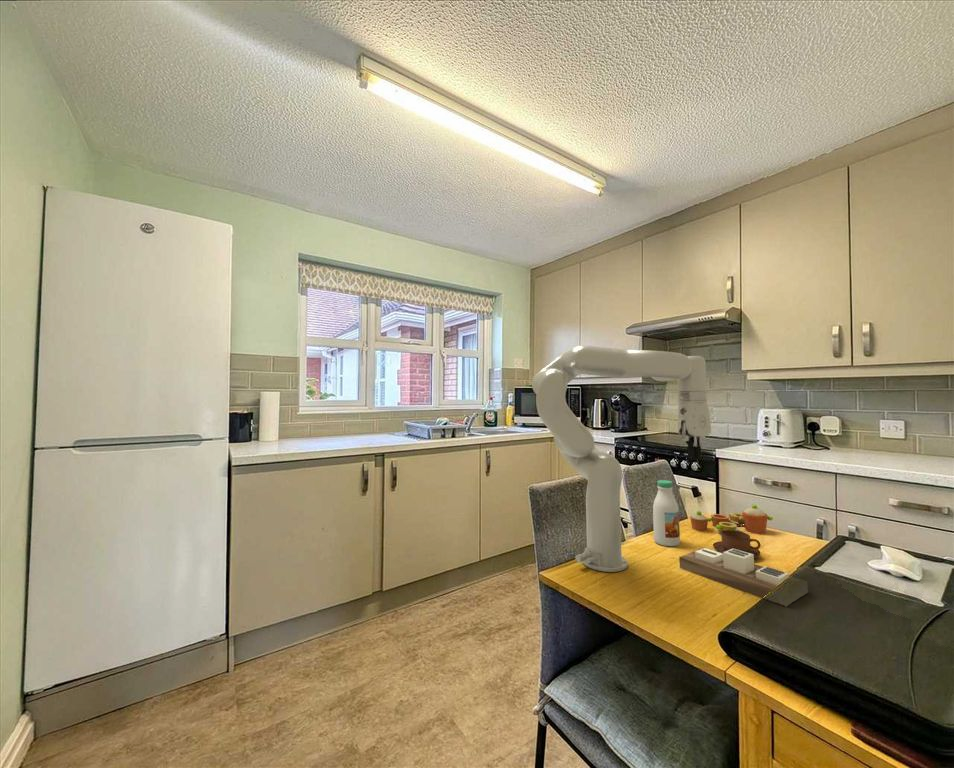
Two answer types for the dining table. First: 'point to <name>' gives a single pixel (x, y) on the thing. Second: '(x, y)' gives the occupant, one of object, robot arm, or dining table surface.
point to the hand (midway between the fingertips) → (694, 459)
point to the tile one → (709, 556)
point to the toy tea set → (733, 521)
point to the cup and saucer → (736, 542)
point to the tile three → (771, 575)
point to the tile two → (738, 561)
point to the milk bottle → (666, 515)
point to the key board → (727, 575)
